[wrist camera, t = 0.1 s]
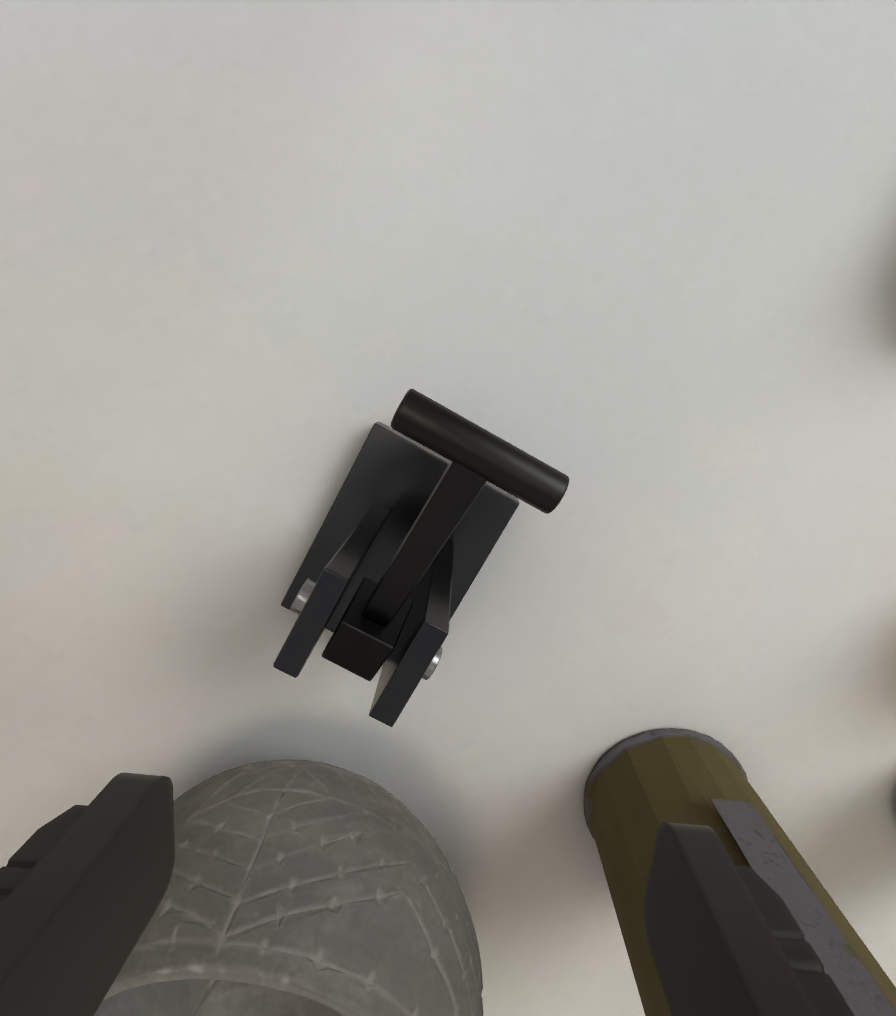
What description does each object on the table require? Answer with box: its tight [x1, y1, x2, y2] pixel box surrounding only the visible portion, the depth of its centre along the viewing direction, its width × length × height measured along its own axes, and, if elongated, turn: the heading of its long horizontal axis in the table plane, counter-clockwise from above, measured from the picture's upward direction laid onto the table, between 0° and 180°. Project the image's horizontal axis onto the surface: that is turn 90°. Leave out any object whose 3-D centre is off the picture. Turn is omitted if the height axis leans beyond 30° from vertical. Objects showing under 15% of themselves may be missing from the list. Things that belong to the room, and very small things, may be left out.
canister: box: [584, 729, 896, 1016], centre depth 26 cm, size 11×10×20 cm
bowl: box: [94, 760, 483, 1016], centre depth 30 cm, size 21×21×15 cm
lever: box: [322, 389, 569, 681], centre depth 19 cm, size 12×5×2 cm
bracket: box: [273, 422, 519, 727], centre depth 26 cm, size 12×9×13 cm
